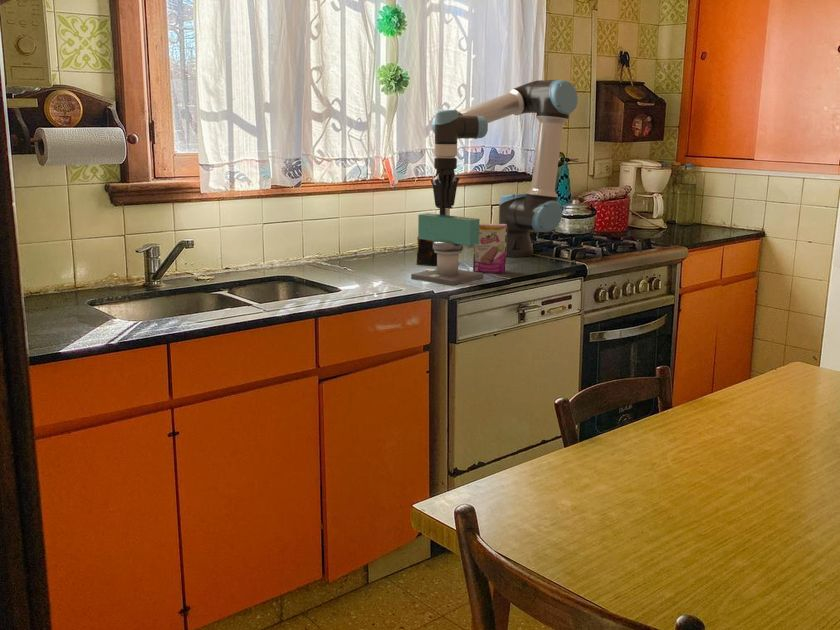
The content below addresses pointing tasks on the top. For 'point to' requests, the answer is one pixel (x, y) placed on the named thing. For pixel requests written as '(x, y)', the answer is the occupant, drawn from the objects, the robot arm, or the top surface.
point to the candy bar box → (490, 249)
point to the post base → (448, 279)
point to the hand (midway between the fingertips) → (444, 227)
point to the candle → (426, 253)
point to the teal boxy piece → (448, 231)
